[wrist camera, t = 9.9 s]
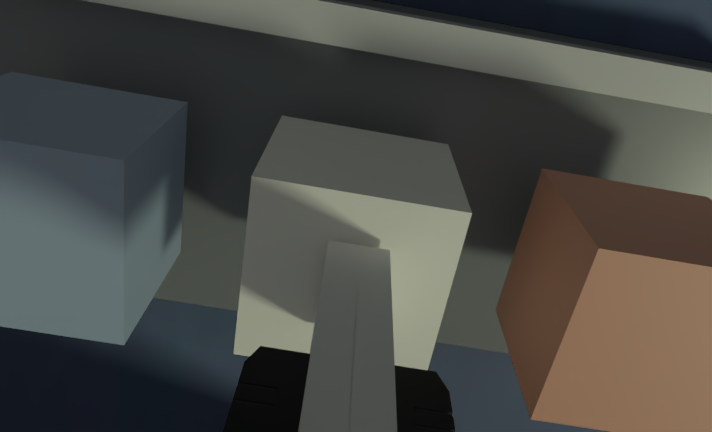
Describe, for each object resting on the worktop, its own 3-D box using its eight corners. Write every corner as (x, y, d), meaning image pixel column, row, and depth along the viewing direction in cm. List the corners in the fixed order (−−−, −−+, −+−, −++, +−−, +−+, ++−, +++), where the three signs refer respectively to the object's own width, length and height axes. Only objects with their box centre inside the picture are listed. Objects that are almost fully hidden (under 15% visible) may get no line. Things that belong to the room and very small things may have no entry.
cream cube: (264, 260, 20) (233, 353, 16) (281, 115, 18) (251, 176, 14) (412, 284, 21) (424, 383, 16) (448, 144, 18) (472, 213, 14)
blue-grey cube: (24, 226, 20) (-80, 314, 15) (11, 71, 17) (-115, 120, 13) (180, 251, 20) (123, 345, 15) (187, 102, 18) (124, 160, 13)
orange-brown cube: (495, 309, 20) (530, 419, 16) (542, 168, 18) (598, 248, 13) (643, 333, 20) (719, 448, 16) (707, 196, 18) (818, 284, 14)
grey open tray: (21, 247, 25) (-79, 336, 19) (-7, -70, 19) (-154, -71, 14) (626, 343, 26) (693, 453, 20) (752, 70, 21) (885, 119, 15)
